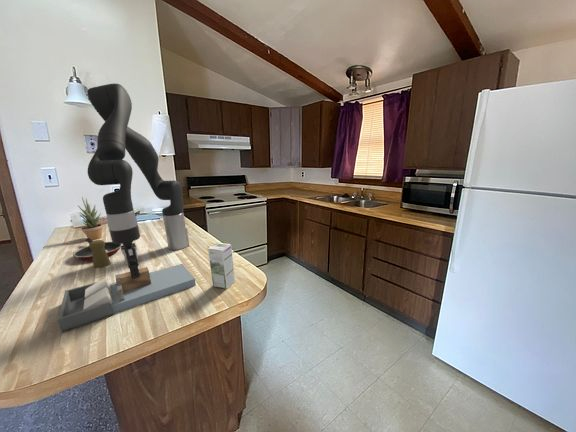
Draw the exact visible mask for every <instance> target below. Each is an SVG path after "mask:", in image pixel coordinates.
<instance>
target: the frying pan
mask: <svg viewBox="0 0 576 432" xmlns="http://www.w3.org/2000/svg"><path fill="white" fill-rule="evenodd" d="M85 241H86V242H87V243H88V245H87V246H83V247H81V248H79V249H77V250H75V251H74V252H73V253H72V256H73V257H75V258H77V259H79V260H82V261H93V255H92V249H90V247H89V244H90V243H91V242H93V241H94V240H92V239H90V238H87V237H86V238H85ZM104 242H105V241H104ZM121 246H123V244H115V243H113V242H112V241H106V242H105V247H104V248H105V250H106V253H107V255H108V257H111V256H113V255H114V254H117V253H118V251H119V250H121Z"/></svg>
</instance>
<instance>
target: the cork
mask: <svg viewBox="0 0 576 432" xmlns="http://www.w3.org/2000/svg"><path fill="white" fill-rule="evenodd" d="M88 246H89V247H90V249H92V255H93V260H92V266H93V269H101V268H105V267H108V266H110V265H111V264H112V262H111V260H110V258H109V257H110V256H108V255H107V253H106V250H105V248H104V247H105V241H104V240H102V239H96V240H93V242H91V243H90V244H89V243H88Z"/></svg>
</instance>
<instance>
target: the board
mask: <svg viewBox="0 0 576 432" xmlns="http://www.w3.org/2000/svg"><path fill="white" fill-rule="evenodd" d="M149 274H150V279H151V284H150V285H147V286H143V287H140V288H137V289H134V290H130V291H127V292H124V293H123V294H124V299H125V300H123V301H120V300H119V296H118V291H117V284H116V282H112V283H111V288H112V292H111V293H112V298H113V303H112V304H111V309H112V313H113V314H115V313H119V312H121V311H124V310H128V309H130V308H131V309H132V308H133V307H136V306H139V305H142V304H144V303H148V302H151V301H153V300H157V299H160V298H162V297H166V296H168V295H169V296H170V295H171V294H175V293H177V292H179V291H183V290H186V289H188V288H191V287H194V286H196V278H195V277H194V275H192V273H191V272H190V271H189V270H188V268H187V267H186V265H184V263H179V264H175V265H172V266H169V267H165V268H162V269H158V270H155V271H152V272H149Z"/></svg>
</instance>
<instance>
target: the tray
mask: <svg viewBox="0 0 576 432" xmlns="http://www.w3.org/2000/svg"><path fill="white" fill-rule="evenodd" d="M106 279H107V278H106ZM107 280H108V281H109V279H107ZM97 282H98V281H96V282H93V283H89V284H85V285H82V286H78V287H74V288H70V289H66V290H64V293H63V294H64V295H63V297H62V302H61V306H60V310H59V314H58V318H57V322H58V325H59V328H60V331H61V333H62V334H63V333H66V332H69V331H71V330H74V329H78V328H80V327H83V326H87V325H89V324H92V323H95V322H98V321H101V320H104V319H107V318H110V317H112V316H113V315H114V313H112V309H111V304H110V302H108V303H105V304H102V305H99V306H96V307H92V308H89V309H86V310H83V309H84V300H85V299H86V298H85V289H87V288H88V287H90V286H92V285H93V284H95V283H97Z"/></svg>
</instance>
